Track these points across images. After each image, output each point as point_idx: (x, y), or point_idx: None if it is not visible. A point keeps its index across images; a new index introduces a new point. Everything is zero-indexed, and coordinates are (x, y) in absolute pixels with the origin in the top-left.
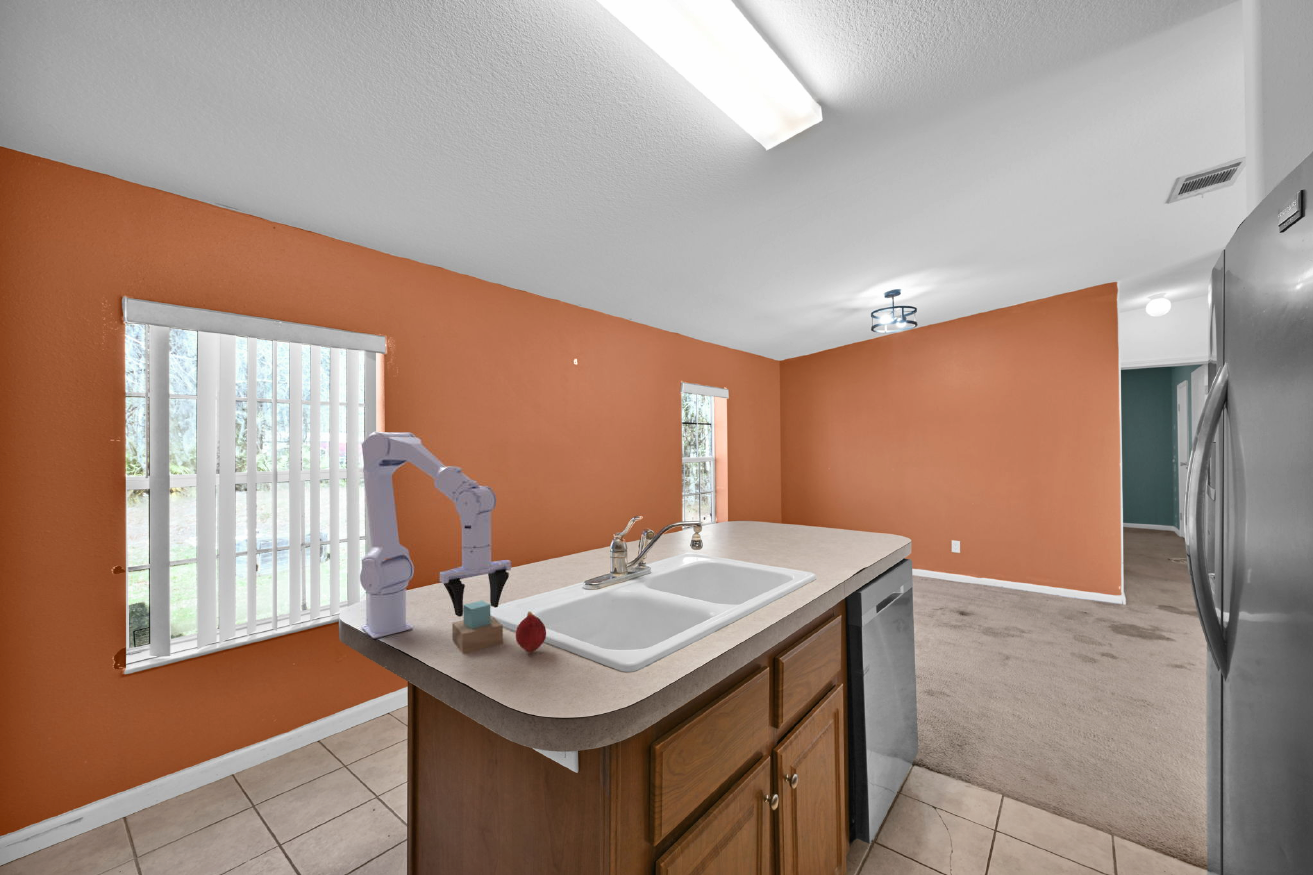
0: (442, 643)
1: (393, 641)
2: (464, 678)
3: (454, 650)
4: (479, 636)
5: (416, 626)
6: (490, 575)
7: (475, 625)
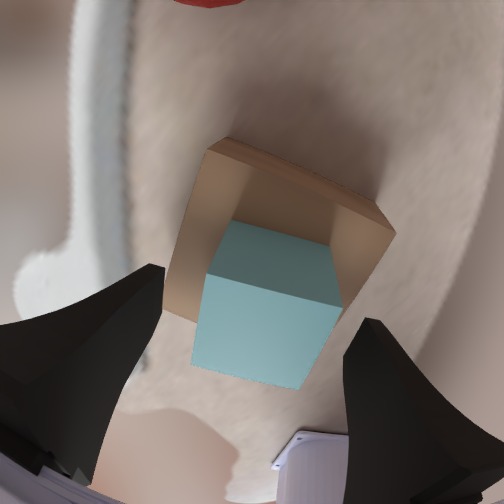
0: (339, 323)
1: None
2: (493, 49)
3: None
4: (322, 188)
5: (280, 433)
6: (84, 463)
7: (310, 247)
